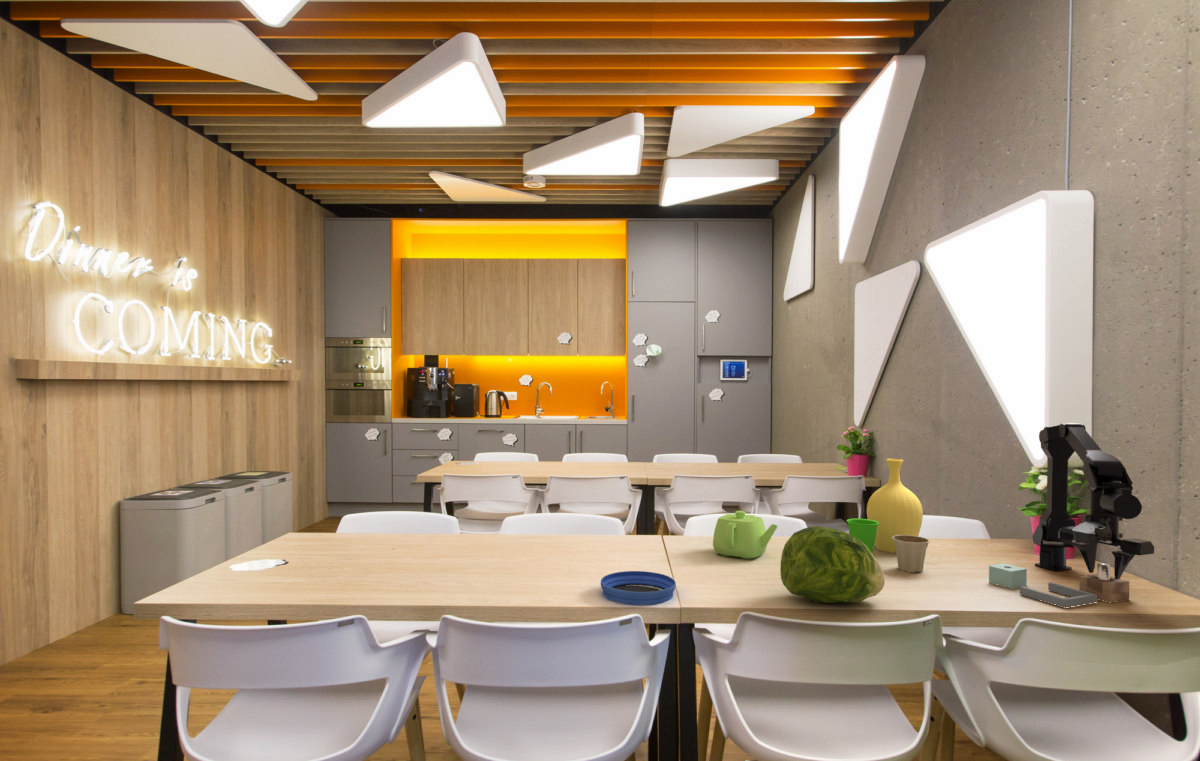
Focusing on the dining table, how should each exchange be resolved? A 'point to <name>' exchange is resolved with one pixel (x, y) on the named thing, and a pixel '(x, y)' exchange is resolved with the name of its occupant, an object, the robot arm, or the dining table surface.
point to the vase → (894, 510)
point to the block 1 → (1008, 575)
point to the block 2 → (1105, 588)
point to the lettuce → (830, 566)
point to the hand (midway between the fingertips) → (1104, 575)
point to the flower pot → (910, 552)
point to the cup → (864, 531)
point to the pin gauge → (1104, 571)
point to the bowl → (637, 587)
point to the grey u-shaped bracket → (1075, 599)
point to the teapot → (741, 535)
